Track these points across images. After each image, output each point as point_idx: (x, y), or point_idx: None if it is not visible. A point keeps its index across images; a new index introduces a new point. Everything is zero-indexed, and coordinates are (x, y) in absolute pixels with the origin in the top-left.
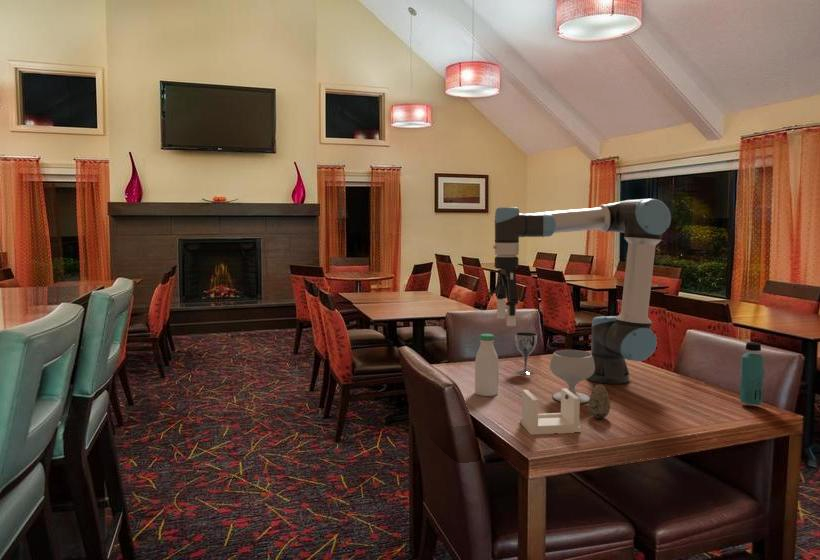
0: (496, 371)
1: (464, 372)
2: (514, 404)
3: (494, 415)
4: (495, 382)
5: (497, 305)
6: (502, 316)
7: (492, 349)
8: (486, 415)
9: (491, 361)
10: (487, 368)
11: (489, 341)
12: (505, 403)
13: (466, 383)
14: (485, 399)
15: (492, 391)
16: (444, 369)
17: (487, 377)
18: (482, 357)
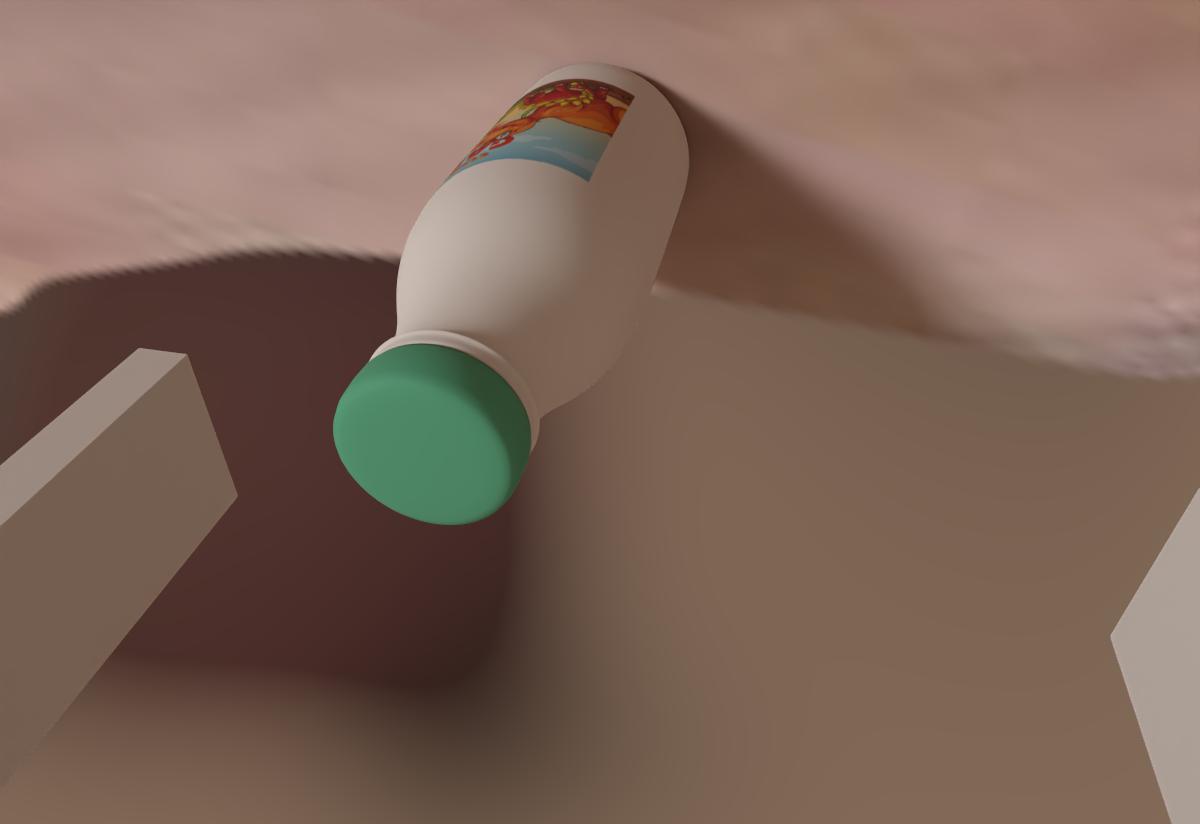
0: (631, 169)
1: (42, 161)
2: (950, 3)
3: (1157, 255)
4: (658, 143)
5: (27, 750)
6: (174, 440)
7: (552, 317)
8: (1128, 307)
9: (637, 280)
10: (652, 283)
11: (531, 412)
12: (896, 77)
13: (335, 226)
14: (750, 205)
15: (682, 146)
16: (10, 276)
17: (666, 242)
18: (600, 377)
